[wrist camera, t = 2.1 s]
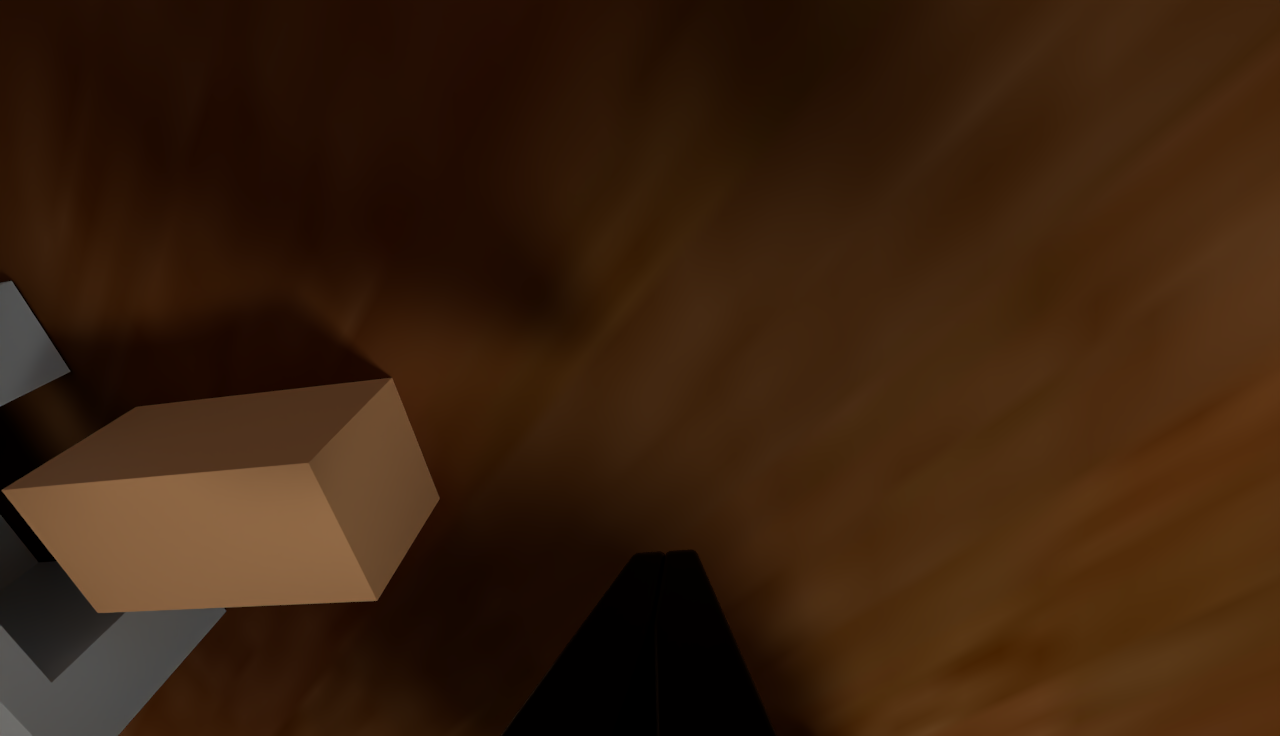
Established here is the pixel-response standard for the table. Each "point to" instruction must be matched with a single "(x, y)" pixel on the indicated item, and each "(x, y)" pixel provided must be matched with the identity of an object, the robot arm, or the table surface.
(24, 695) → the sled
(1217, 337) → the table surface
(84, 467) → the tan rectangular brick
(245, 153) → the table surface
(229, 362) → the table surface
